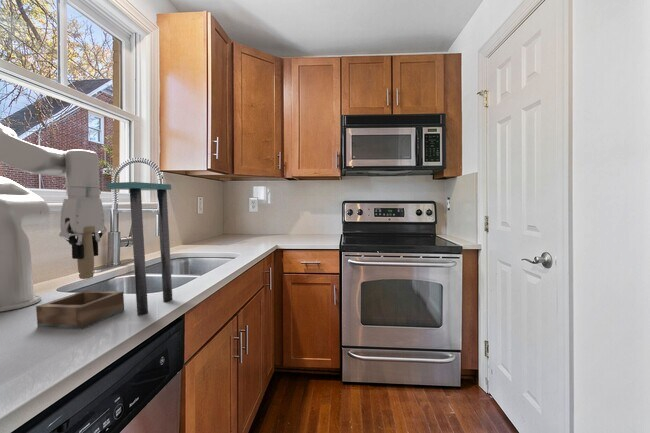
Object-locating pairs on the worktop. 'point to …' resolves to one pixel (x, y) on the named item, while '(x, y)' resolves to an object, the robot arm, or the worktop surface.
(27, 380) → the worktop surface
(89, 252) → the handle
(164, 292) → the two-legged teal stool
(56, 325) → the socket
